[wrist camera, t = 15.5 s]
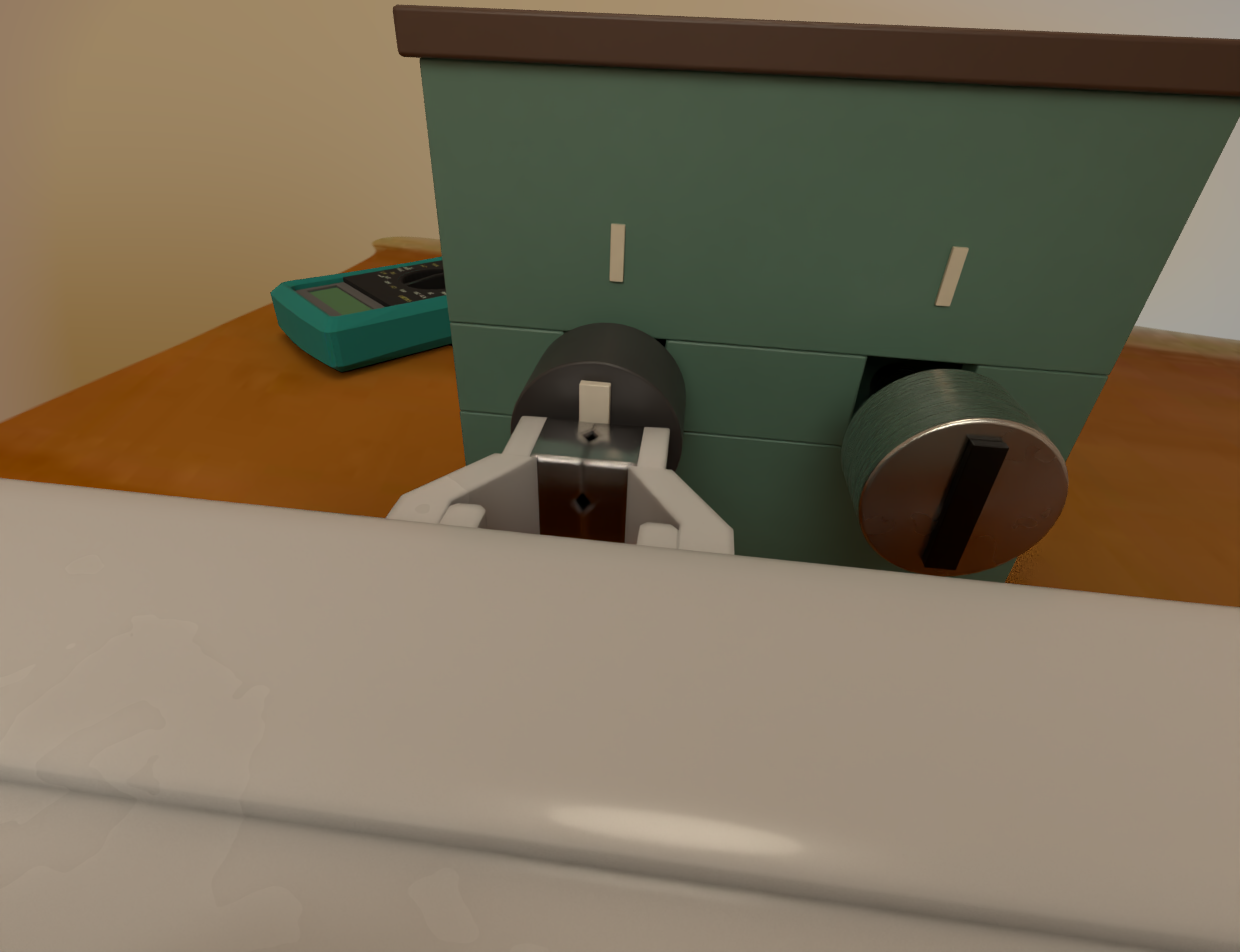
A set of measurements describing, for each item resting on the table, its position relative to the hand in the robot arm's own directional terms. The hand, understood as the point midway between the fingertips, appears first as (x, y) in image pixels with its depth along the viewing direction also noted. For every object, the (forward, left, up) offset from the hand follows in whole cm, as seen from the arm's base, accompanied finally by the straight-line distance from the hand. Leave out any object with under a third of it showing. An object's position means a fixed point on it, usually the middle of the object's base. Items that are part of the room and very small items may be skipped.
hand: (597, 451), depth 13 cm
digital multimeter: (+12, -22, -7) cm, 26 cm away
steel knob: (-7, -2, -2) cm, 7 cm away
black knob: (0, -3, -2) cm, 3 cm away
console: (-3, -6, -6) cm, 9 cm away
